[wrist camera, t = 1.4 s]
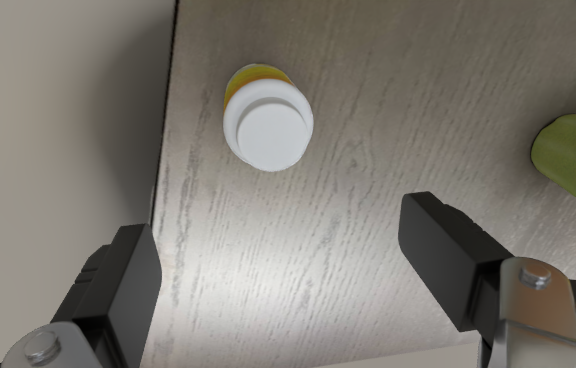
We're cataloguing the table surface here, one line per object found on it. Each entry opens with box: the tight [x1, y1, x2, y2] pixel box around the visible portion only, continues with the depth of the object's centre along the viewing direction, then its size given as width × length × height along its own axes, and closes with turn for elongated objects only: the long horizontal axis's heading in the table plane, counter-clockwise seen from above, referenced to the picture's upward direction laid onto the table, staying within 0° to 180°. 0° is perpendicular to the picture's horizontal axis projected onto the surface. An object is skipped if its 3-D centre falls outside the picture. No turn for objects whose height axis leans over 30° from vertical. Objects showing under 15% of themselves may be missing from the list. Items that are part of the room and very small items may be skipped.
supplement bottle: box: [223, 63, 313, 172], centre depth 23 cm, size 6×6×10 cm
